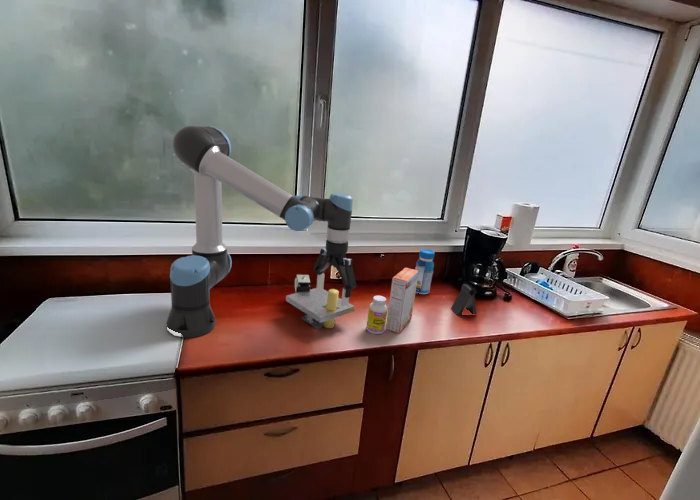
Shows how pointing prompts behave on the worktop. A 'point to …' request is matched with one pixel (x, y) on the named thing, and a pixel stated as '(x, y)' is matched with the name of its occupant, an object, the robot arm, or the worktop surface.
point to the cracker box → (401, 299)
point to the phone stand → (465, 300)
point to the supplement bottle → (377, 315)
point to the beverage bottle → (424, 271)
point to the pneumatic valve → (302, 283)
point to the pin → (331, 306)
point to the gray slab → (317, 306)
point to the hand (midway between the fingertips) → (331, 297)
